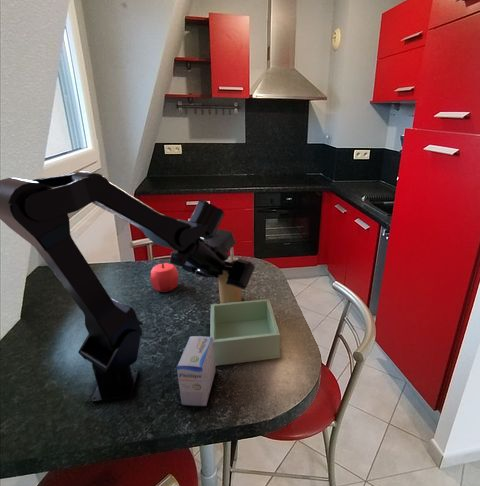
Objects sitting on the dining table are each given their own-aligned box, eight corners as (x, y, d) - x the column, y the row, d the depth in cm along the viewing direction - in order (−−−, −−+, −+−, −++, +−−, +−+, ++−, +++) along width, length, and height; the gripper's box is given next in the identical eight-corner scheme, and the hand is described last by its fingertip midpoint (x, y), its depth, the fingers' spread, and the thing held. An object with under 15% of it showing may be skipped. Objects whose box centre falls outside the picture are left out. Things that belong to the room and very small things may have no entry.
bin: (279, 358, 66) (279, 334, 64) (212, 366, 63) (210, 342, 61) (269, 319, 78) (269, 298, 76) (212, 325, 76) (210, 304, 74)
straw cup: (242, 307, 83) (240, 253, 77) (220, 309, 82) (216, 254, 76) (241, 296, 88) (238, 244, 83) (219, 298, 87) (216, 245, 82)
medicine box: (193, 371, 62) (189, 335, 59) (216, 372, 62) (213, 335, 59) (181, 406, 55) (175, 366, 52) (207, 407, 55) (203, 366, 51)
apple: (158, 298, 87) (154, 272, 84) (147, 287, 93) (143, 262, 90) (185, 288, 92) (182, 263, 89) (173, 278, 97) (170, 254, 95)
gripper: (248, 229, 69) (275, 258, 82) (185, 216, 78) (218, 244, 91) (227, 277, 66) (258, 299, 78) (164, 257, 74) (201, 280, 87)
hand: (233, 278), depth 84 cm, fingers closed on straw cup, 5 cm apart
